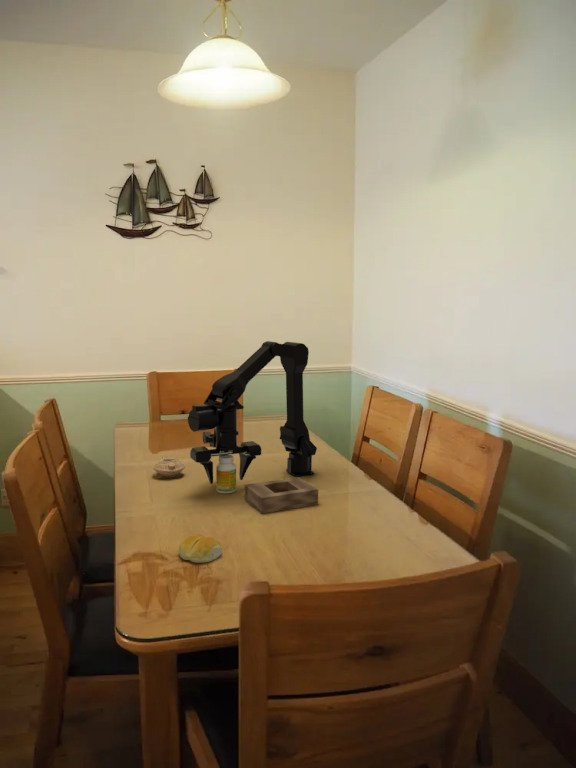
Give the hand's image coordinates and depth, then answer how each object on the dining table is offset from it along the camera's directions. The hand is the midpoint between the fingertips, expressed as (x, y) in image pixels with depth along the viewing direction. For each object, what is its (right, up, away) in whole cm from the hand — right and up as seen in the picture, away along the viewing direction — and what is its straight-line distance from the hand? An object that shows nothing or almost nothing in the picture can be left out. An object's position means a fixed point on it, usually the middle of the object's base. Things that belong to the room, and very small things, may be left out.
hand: (226, 481), depth 166 cm
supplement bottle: (0, -3, 0) cm, 3 cm away
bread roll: (-1, -9, -39) cm, 40 cm away
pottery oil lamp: (-18, 0, +15) cm, 23 cm away
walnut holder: (+15, -4, -8) cm, 17 cm away
